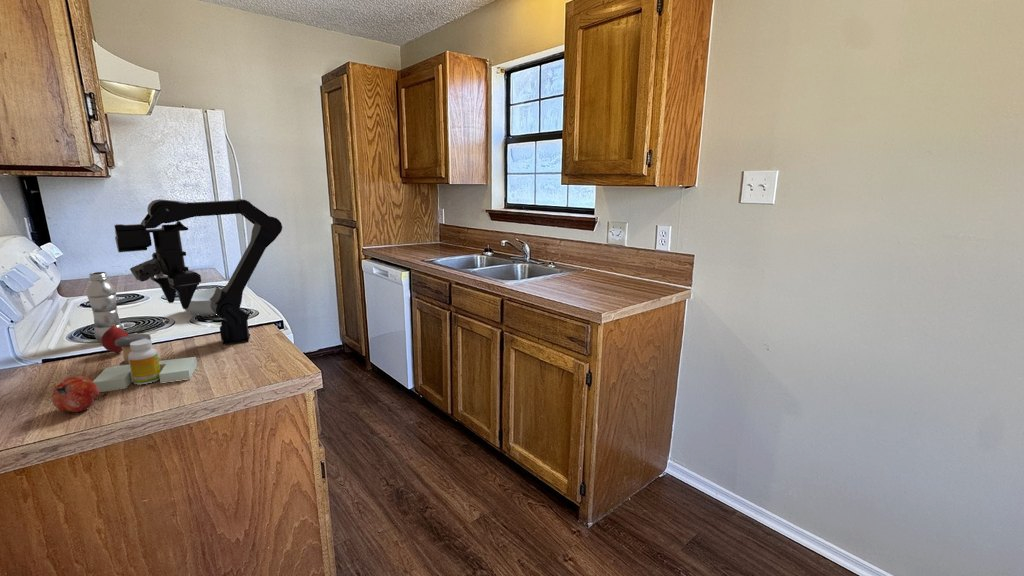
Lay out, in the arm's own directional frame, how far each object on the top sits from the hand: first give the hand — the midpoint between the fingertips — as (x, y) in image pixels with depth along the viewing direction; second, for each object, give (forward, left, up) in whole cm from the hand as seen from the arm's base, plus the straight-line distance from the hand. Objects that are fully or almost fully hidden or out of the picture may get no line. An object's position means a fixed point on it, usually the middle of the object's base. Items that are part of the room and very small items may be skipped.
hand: (178, 305), depth 125 cm
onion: (+16, -4, -13) cm, 21 cm away
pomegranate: (+13, +30, -13) cm, 35 cm away
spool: (+9, +7, -13) cm, 17 cm away
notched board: (+4, +18, -13) cm, 22 cm away
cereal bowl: (-1, -37, -13) cm, 40 cm away
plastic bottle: (+21, -16, -13) cm, 30 cm away
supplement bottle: (+4, +19, -13) cm, 23 cm away
